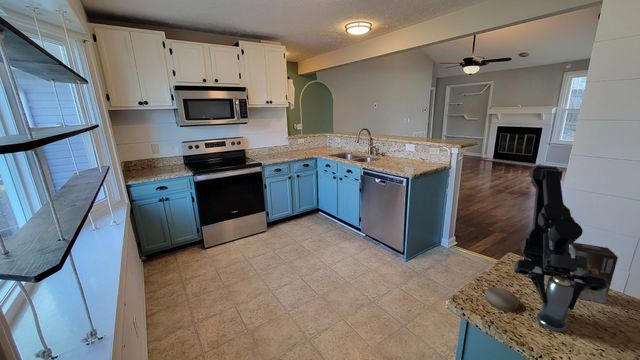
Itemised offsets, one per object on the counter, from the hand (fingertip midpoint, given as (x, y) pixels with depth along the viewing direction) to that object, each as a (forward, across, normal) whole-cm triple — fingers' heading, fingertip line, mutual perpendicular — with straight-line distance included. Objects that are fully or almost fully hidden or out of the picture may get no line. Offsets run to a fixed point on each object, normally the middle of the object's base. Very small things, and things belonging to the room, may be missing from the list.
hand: (557, 306), depth 71 cm
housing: (+4, 0, +6) cm, 7 cm away
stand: (+1, -12, +8) cm, 14 cm away
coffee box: (-10, +11, +20) cm, 25 cm away
